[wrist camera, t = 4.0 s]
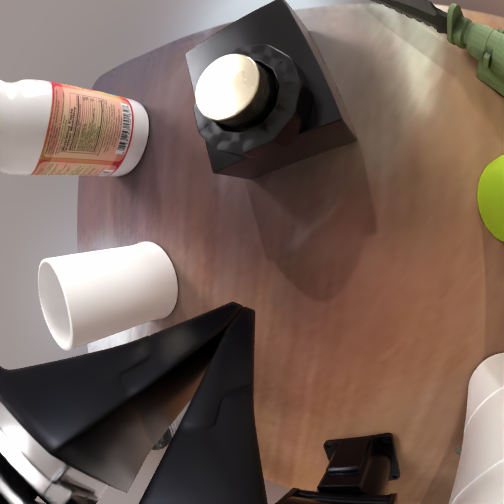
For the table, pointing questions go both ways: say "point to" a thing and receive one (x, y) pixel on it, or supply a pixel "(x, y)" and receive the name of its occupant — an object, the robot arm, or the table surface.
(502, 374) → the cup
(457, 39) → the knife
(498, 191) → the soap dispenser
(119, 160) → the fruit juice
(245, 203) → the table surface
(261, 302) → the table surface
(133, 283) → the mug
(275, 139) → the control block
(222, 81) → the stove button
